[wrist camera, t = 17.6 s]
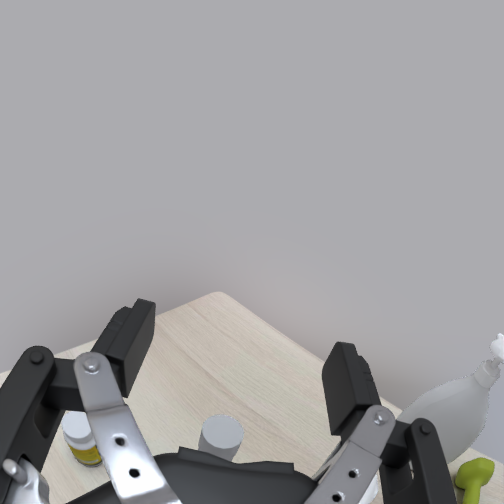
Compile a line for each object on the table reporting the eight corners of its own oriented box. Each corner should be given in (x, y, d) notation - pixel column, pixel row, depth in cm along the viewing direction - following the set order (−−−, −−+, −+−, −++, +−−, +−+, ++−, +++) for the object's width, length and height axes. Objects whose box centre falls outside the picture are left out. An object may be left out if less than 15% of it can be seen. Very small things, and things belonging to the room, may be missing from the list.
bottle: (203, 499, 26) (247, 382, 16) (220, 532, 22) (294, 456, 12) (162, 507, 24) (156, 399, 13) (178, 543, 20) (190, 489, 9)
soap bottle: (441, 455, 37) (537, 347, 26) (431, 486, 31) (546, 377, 20) (384, 424, 44) (469, 306, 33) (368, 453, 38) (469, 330, 27)
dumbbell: (461, 550, 17) (493, 535, 14) (429, 543, 20) (461, 528, 17) (476, 480, 30) (502, 460, 27) (449, 470, 33) (474, 449, 30)
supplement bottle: (109, 466, 28) (98, 440, 25) (77, 468, 26) (60, 442, 22) (102, 437, 32) (92, 407, 28) (71, 439, 30) (56, 408, 26)
